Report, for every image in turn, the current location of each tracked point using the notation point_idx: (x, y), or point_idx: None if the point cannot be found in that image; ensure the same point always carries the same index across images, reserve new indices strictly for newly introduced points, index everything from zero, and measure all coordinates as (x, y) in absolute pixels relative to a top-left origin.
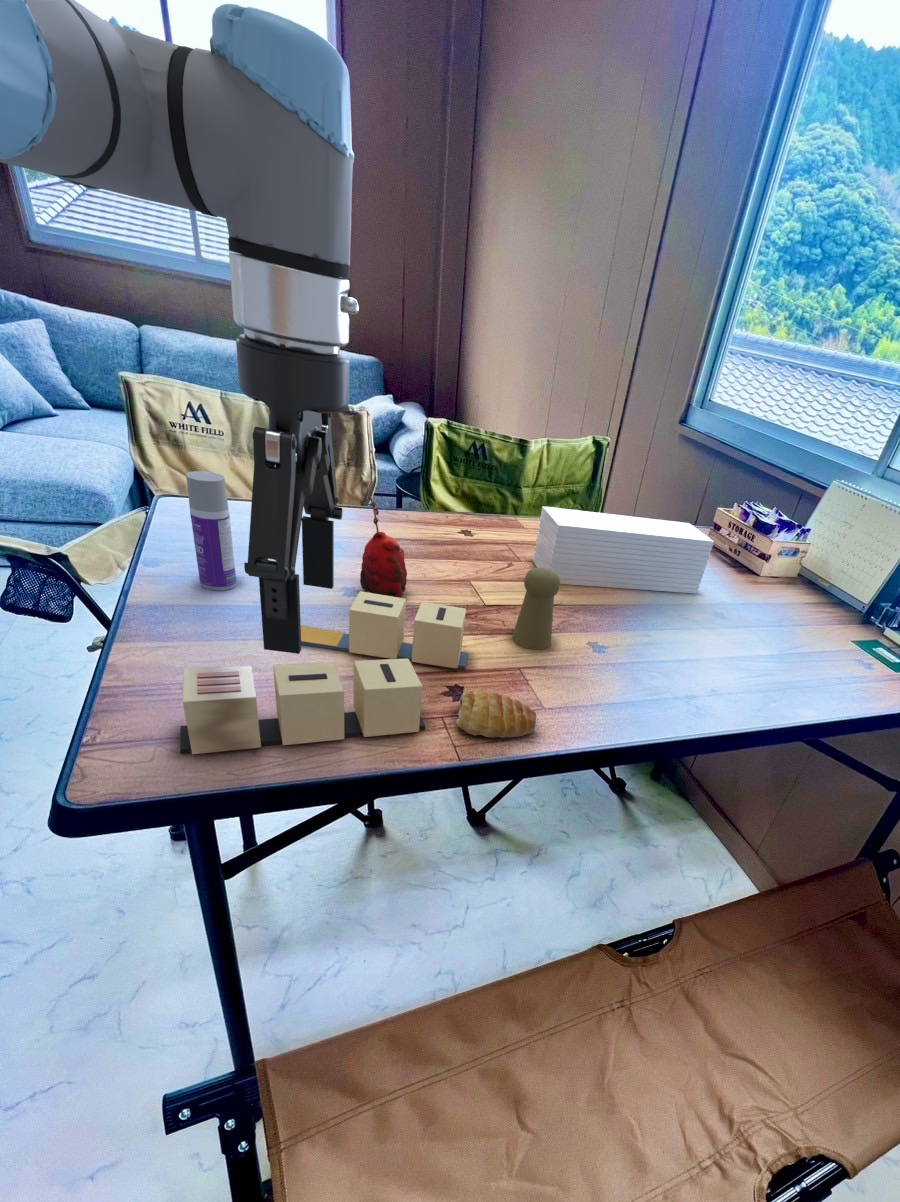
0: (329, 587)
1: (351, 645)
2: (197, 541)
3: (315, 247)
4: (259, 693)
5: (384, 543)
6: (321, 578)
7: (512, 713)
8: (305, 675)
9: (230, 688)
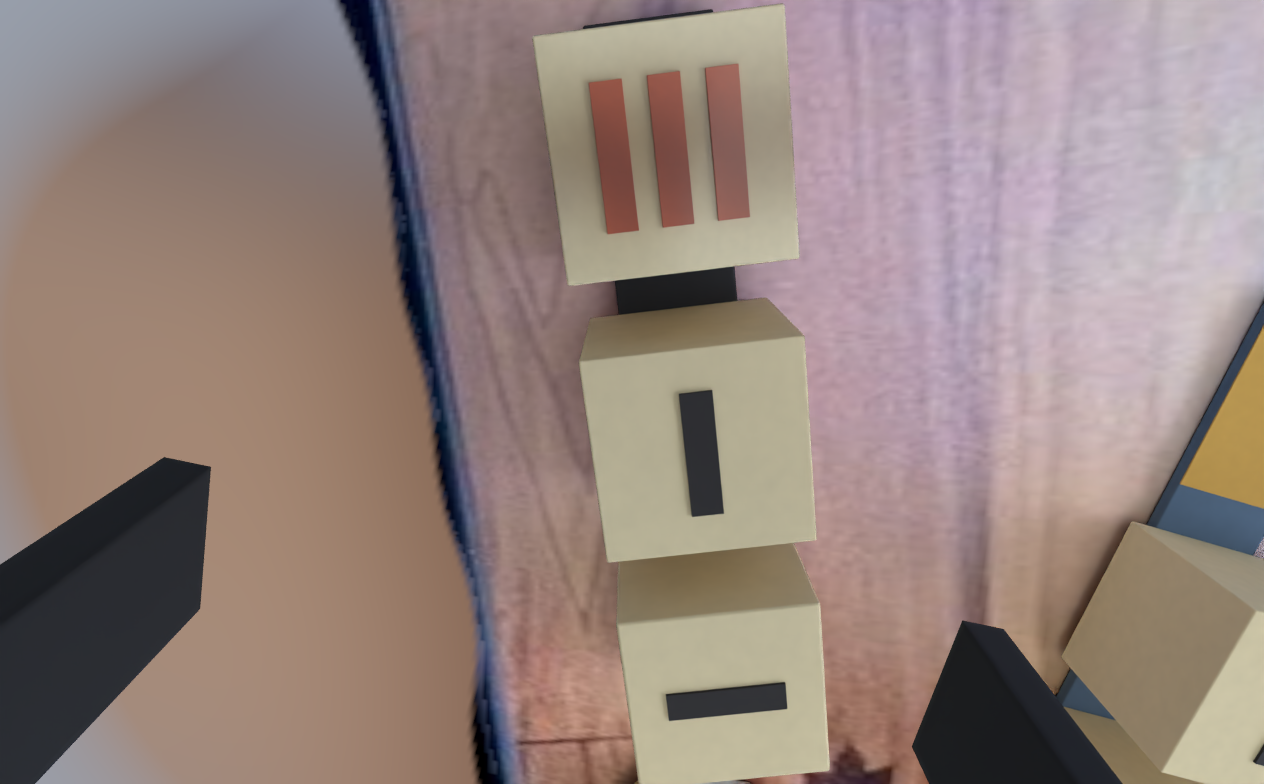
0: (919, 739)
1: (1145, 541)
2: None
3: None
4: (909, 236)
5: None
6: (951, 737)
7: None
8: (710, 447)
9: (619, 196)
